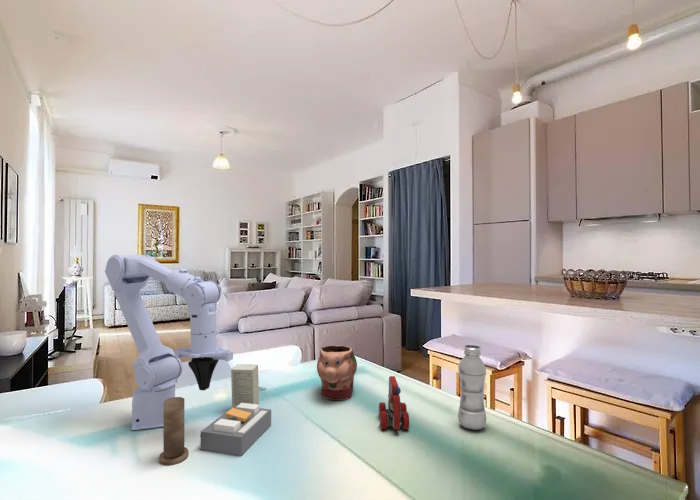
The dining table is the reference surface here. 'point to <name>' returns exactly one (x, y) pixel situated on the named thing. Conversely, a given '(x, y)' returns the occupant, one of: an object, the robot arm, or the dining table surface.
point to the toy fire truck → (393, 408)
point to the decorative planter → (336, 371)
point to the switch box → (236, 431)
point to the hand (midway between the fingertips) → (204, 388)
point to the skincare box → (245, 384)
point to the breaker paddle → (238, 415)
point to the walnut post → (173, 432)
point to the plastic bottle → (472, 389)
